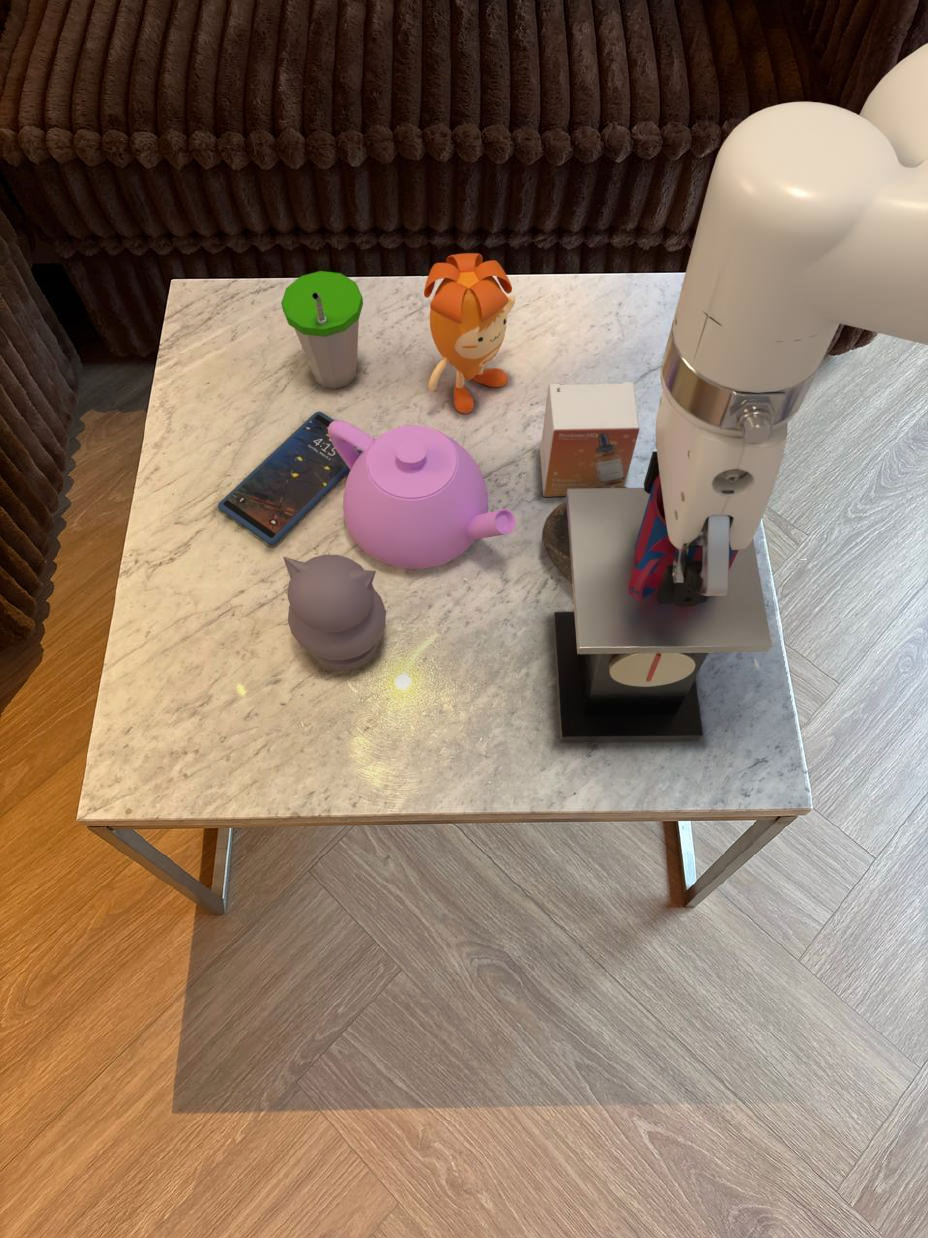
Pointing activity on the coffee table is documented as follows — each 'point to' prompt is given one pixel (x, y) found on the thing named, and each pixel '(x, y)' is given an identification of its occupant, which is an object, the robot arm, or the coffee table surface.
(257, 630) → the coffee table surface
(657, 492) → the cup
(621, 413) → the small box
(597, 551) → the scale
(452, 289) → the toy figure
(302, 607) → the cat figurine
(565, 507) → the stone
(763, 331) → the robot arm
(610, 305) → the coffee table surface
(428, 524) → the teapot
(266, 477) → the smartphone
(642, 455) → the coffee table surface
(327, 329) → the cup
